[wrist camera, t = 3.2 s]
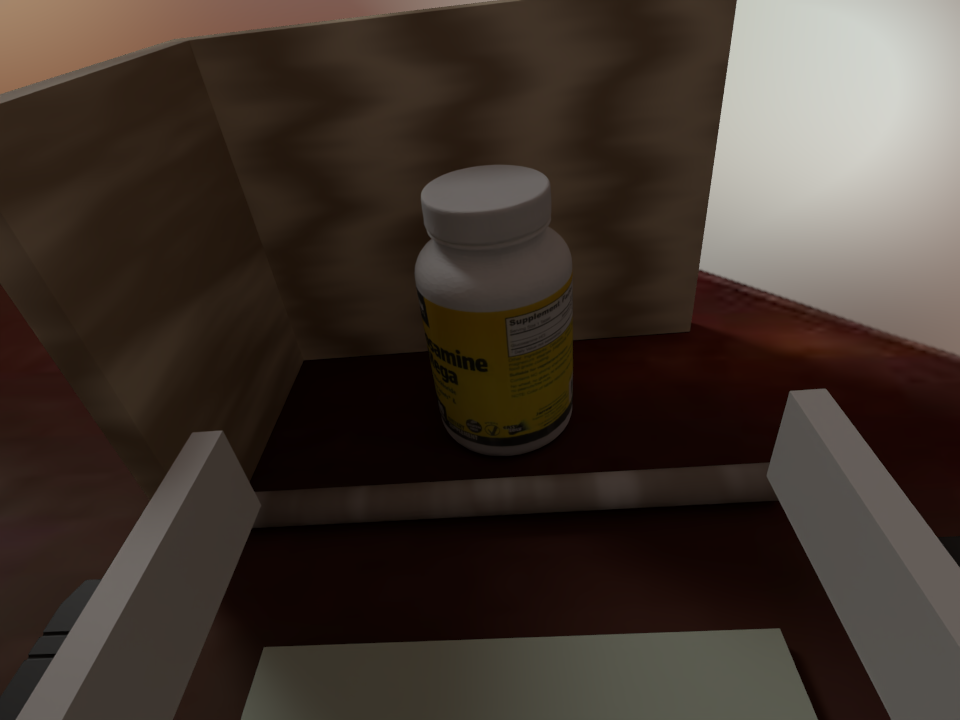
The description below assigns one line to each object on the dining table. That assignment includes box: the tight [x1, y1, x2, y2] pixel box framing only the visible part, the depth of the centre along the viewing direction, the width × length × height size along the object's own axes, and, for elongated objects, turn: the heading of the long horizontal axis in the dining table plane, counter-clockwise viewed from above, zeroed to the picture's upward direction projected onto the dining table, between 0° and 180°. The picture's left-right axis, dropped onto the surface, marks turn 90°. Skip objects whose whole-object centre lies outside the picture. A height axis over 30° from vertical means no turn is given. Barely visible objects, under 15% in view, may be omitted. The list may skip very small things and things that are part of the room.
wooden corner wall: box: [0, 0, 779, 528], centre depth 22 cm, size 23×14×16 cm, turn 89°
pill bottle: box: [415, 165, 573, 456], centre depth 23 cm, size 6×6×11 cm
